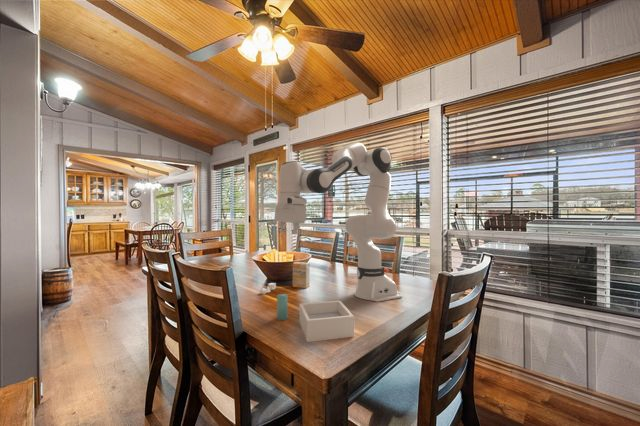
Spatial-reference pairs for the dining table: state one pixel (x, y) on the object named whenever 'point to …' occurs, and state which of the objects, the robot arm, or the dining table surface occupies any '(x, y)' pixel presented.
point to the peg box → (326, 321)
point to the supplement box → (301, 274)
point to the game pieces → (268, 288)
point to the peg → (282, 307)
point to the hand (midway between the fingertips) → (288, 233)
